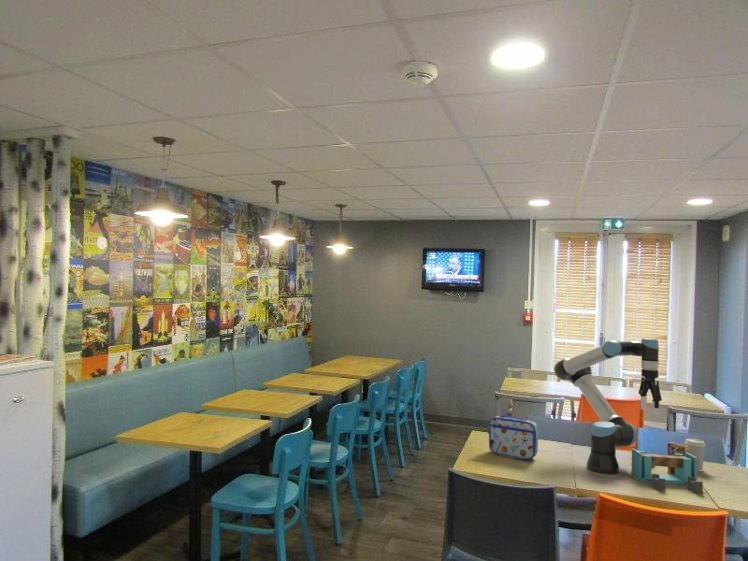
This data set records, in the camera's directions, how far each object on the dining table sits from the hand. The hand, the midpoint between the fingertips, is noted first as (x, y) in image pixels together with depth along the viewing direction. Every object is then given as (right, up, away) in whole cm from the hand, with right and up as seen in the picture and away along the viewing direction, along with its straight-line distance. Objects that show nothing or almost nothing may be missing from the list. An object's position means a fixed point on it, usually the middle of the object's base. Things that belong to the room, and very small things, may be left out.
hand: (649, 411), depth 247 cm
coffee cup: (+32, -34, +13) cm, 48 cm away
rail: (+3, -25, -6) cm, 26 cm away
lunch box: (-63, -31, +23) cm, 74 cm away
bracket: (+3, -32, -6) cm, 32 cm away
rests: (+2, -31, -19) cm, 36 cm away
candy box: (+16, -33, +3) cm, 37 cm away
